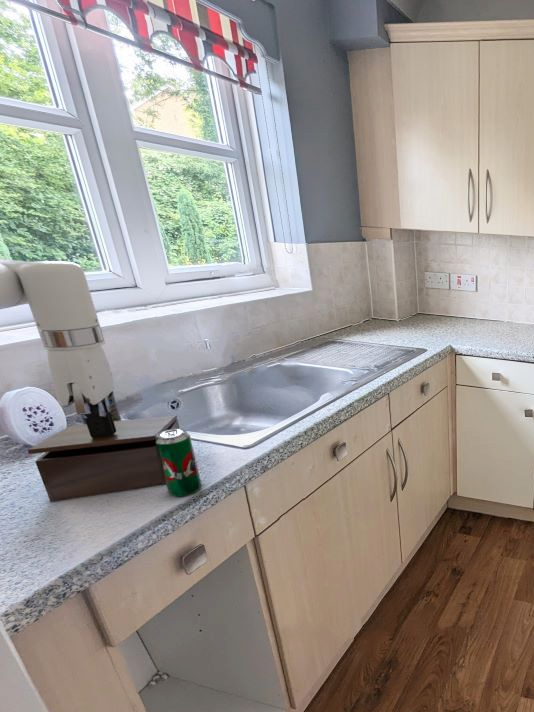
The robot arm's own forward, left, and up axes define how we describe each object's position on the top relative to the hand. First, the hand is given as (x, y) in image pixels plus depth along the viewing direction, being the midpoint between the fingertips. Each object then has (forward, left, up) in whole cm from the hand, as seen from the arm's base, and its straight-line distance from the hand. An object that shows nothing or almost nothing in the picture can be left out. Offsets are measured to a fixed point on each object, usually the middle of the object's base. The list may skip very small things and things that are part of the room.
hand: (104, 435), depth 83 cm
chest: (0, +4, -10) cm, 11 cm away
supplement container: (-11, +31, -11) cm, 35 cm away
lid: (0, +3, -1) cm, 4 cm away
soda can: (+12, -7, -11) cm, 17 cm away
